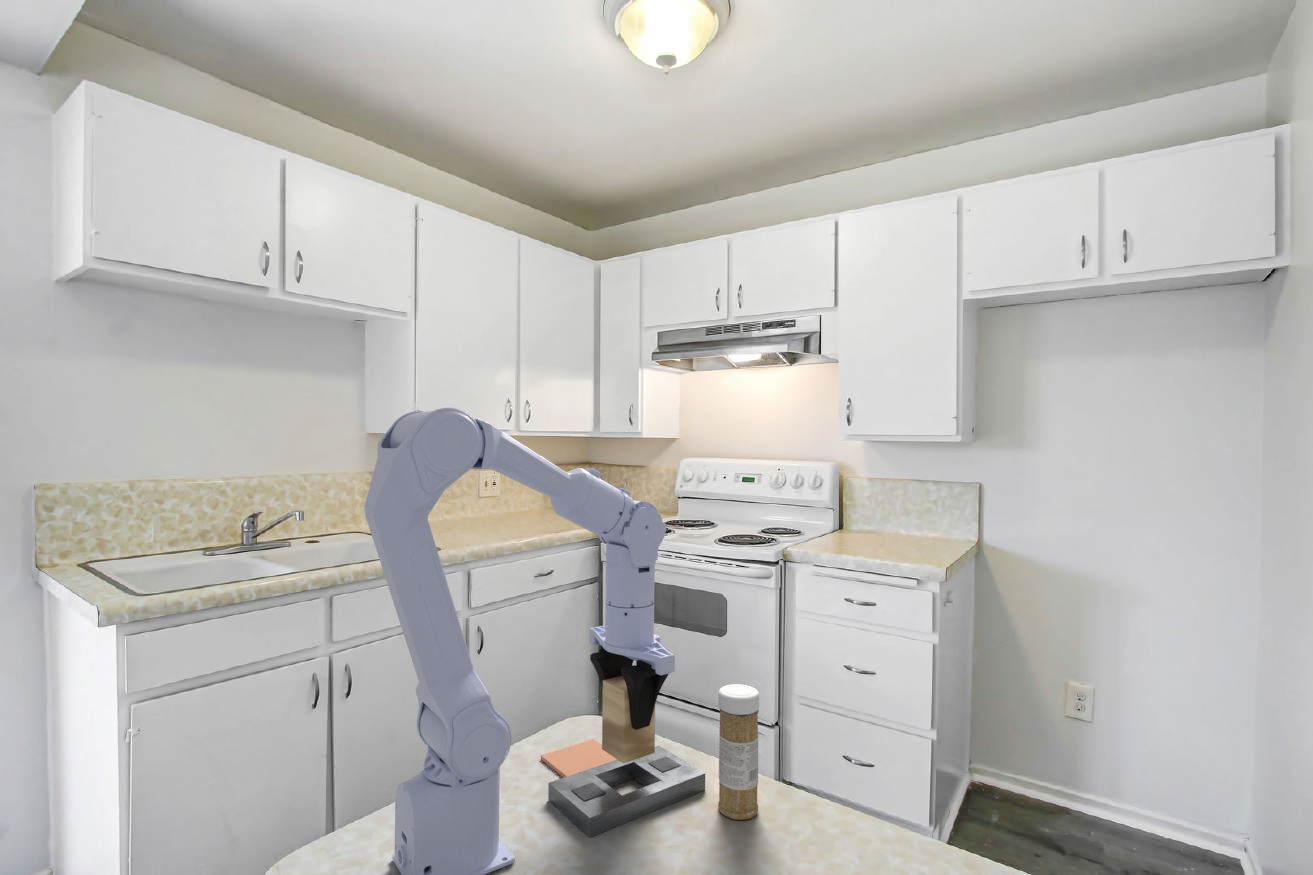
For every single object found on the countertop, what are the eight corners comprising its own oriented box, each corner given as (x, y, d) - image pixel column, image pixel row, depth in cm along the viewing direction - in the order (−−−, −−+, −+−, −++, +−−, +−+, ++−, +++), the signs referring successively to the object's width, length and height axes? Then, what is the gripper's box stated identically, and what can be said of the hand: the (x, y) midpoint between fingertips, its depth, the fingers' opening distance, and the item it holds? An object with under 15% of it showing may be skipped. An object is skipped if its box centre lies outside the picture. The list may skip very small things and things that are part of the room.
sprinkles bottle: (737, 795, 77) (738, 679, 77) (767, 812, 74) (767, 690, 74) (709, 808, 74) (710, 688, 74) (738, 827, 71) (739, 700, 71)
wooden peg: (623, 763, 74) (624, 691, 74) (602, 749, 77) (602, 680, 78) (654, 752, 77) (655, 683, 77) (632, 739, 80) (633, 673, 80)
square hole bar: (589, 837, 68) (590, 816, 69) (548, 800, 76) (548, 781, 76) (705, 789, 78) (705, 772, 78) (658, 761, 85) (658, 744, 85)
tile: (572, 784, 79) (572, 780, 79) (540, 759, 86) (540, 755, 86) (626, 765, 84) (626, 761, 84) (593, 742, 90) (593, 739, 90)
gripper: (696, 610, 74) (695, 732, 74) (622, 587, 86) (621, 693, 85) (645, 619, 70) (644, 749, 69) (575, 594, 81) (574, 705, 81)
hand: (628, 719), depth 77 cm, fingers closed on wooden peg, 4 cm apart
